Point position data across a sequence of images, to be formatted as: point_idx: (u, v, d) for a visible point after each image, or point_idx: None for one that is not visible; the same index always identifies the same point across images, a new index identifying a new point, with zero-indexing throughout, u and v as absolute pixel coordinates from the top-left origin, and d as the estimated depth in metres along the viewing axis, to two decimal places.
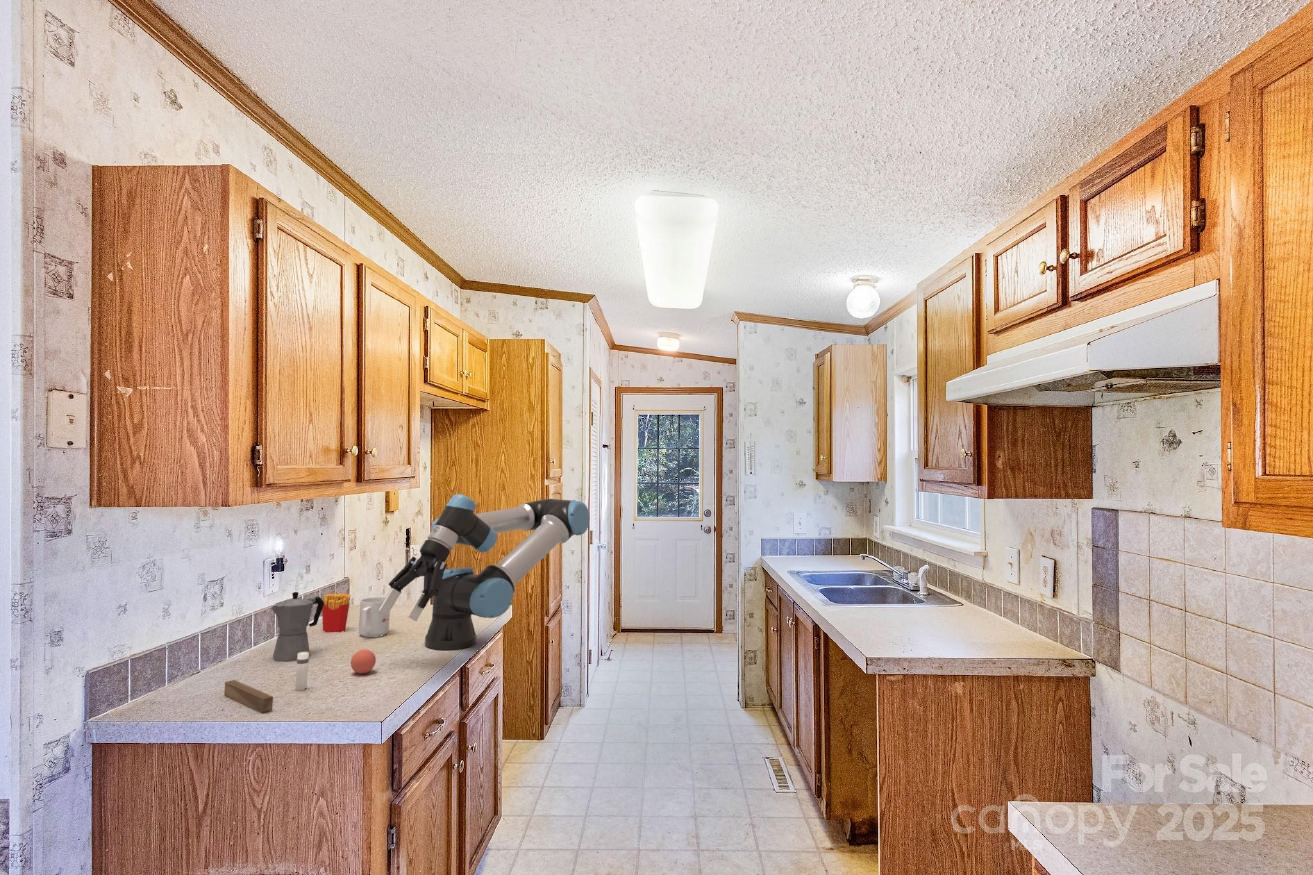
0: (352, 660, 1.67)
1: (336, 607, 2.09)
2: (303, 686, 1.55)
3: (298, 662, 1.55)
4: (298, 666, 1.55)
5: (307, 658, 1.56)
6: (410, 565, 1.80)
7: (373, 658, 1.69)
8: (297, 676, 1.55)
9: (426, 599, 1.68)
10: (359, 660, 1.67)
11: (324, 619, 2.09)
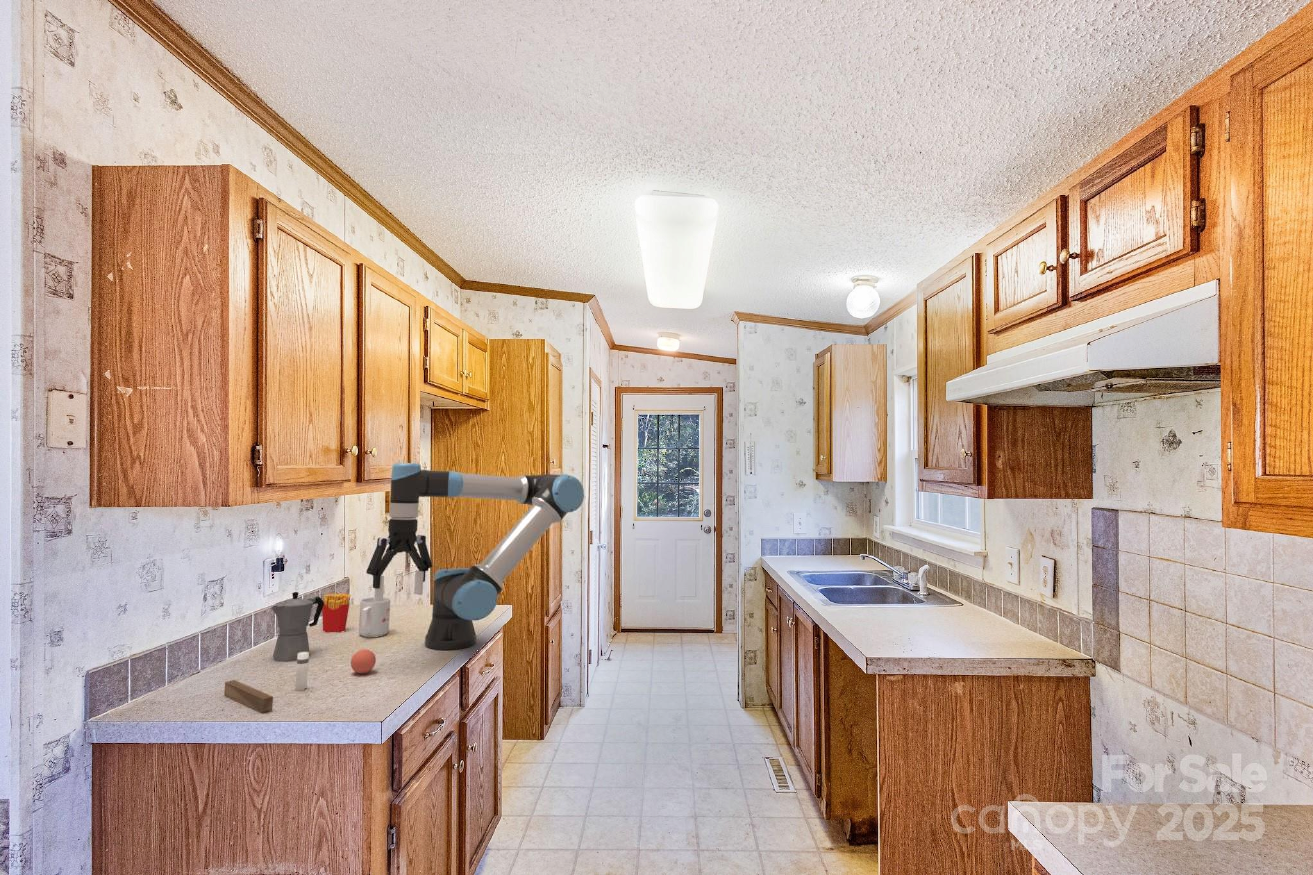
0: (352, 660, 1.67)
1: (336, 607, 2.09)
2: (303, 686, 1.55)
3: (298, 662, 1.55)
4: (298, 666, 1.55)
5: (307, 658, 1.56)
6: (417, 543, 1.84)
7: (373, 658, 1.69)
8: (297, 676, 1.55)
9: (374, 580, 1.72)
10: (359, 660, 1.67)
11: (324, 619, 2.09)
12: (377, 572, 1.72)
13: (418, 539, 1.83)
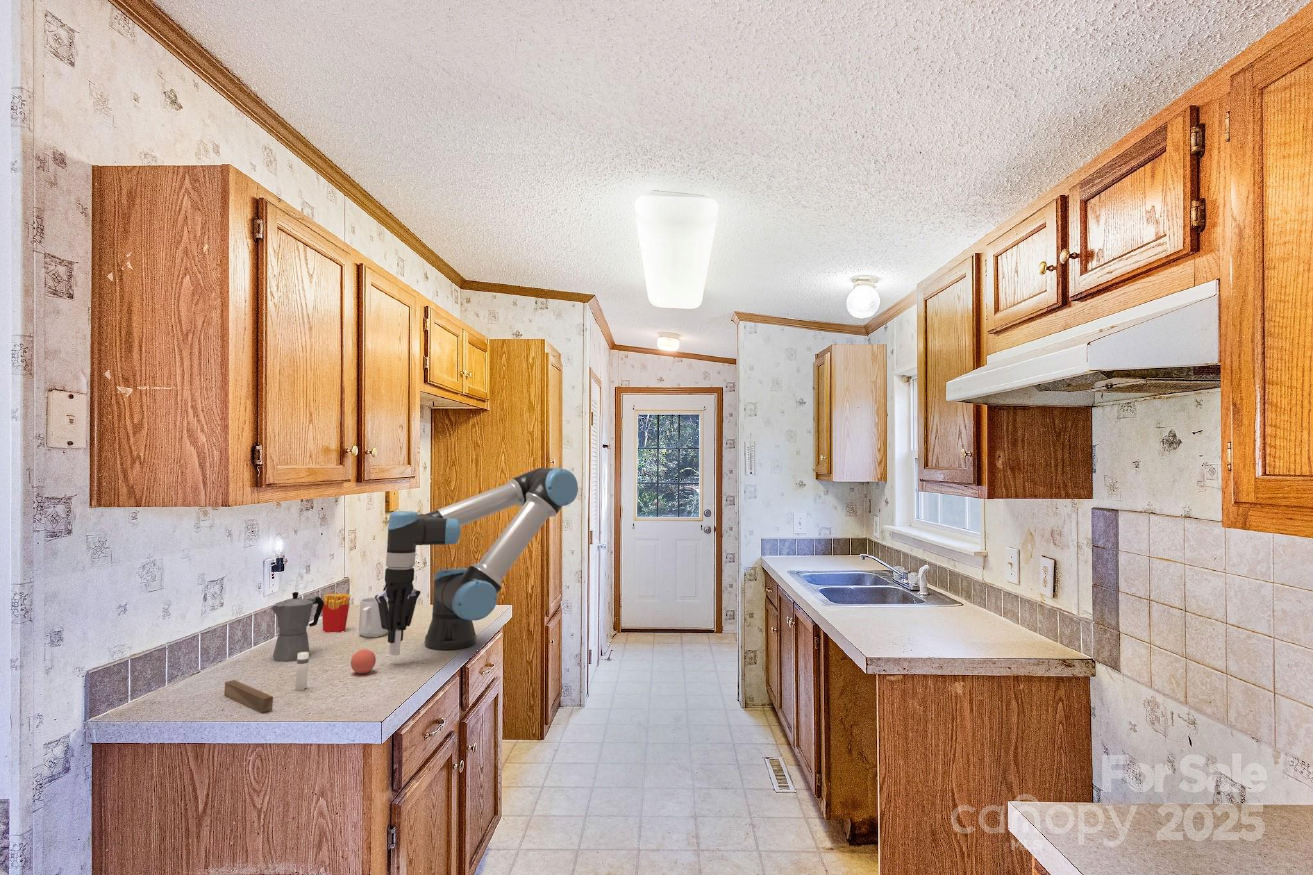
0: (352, 660, 1.67)
1: (336, 607, 2.09)
2: (303, 686, 1.55)
3: (298, 662, 1.55)
4: (298, 666, 1.55)
5: (307, 658, 1.56)
6: (409, 597, 1.82)
7: (373, 658, 1.69)
8: (297, 676, 1.55)
9: (389, 634, 1.76)
10: (359, 660, 1.67)
11: (324, 619, 2.09)
12: (391, 628, 1.75)
13: (413, 591, 1.82)
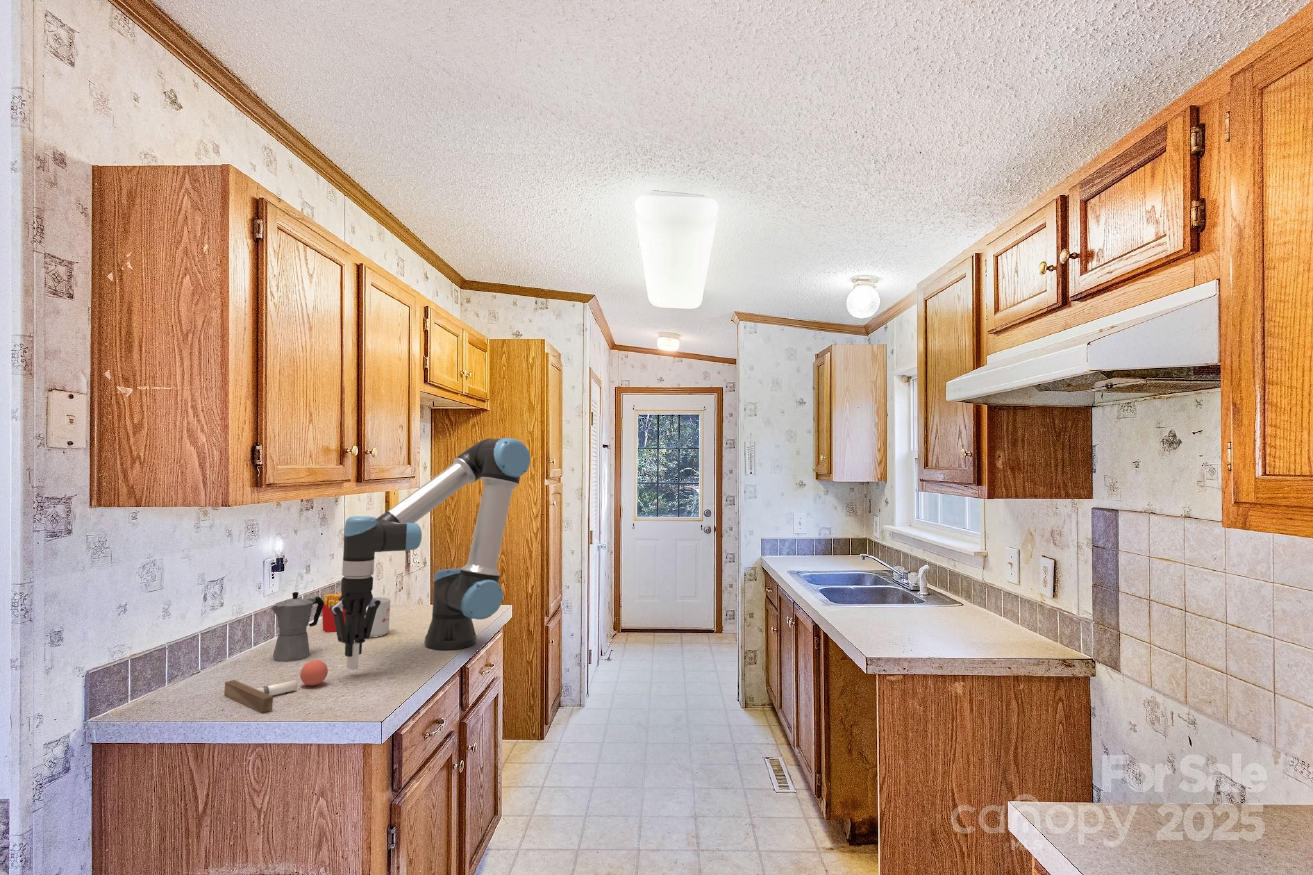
0: None
1: None
2: (293, 687, 1.54)
3: None
4: None
5: (264, 690, 1.49)
6: (368, 607, 1.72)
7: (319, 680, 1.57)
8: (281, 693, 1.52)
9: (346, 647, 1.66)
10: (326, 667, 1.60)
11: (324, 619, 2.09)
12: (348, 641, 1.65)
13: (372, 601, 1.71)
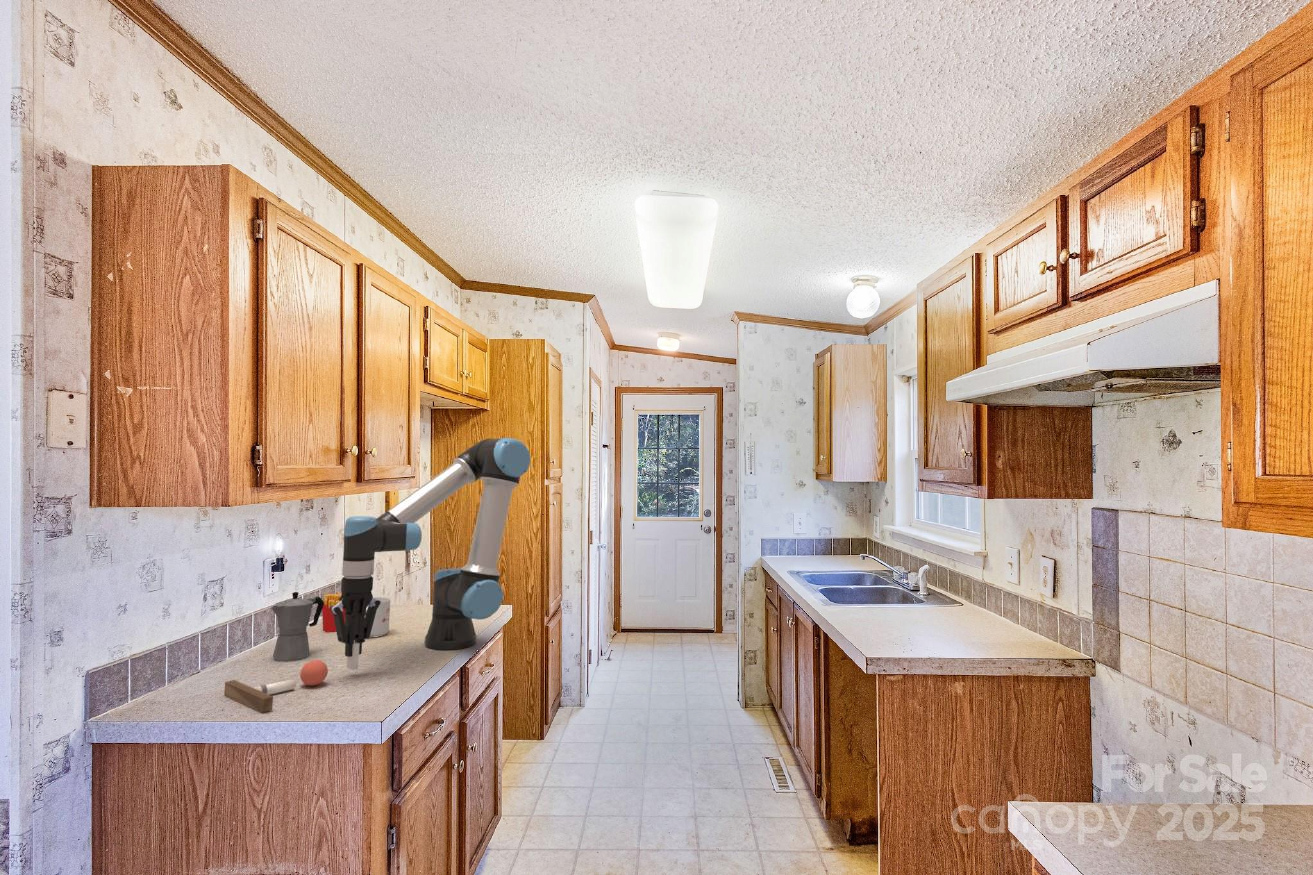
0: None
1: None
2: (291, 681, 1.54)
3: None
4: (269, 692, 1.50)
5: (260, 686, 1.50)
6: (368, 607, 1.72)
7: (319, 680, 1.57)
8: (280, 690, 1.52)
9: (346, 647, 1.66)
10: (326, 667, 1.60)
11: (324, 619, 2.09)
12: (348, 641, 1.65)
13: (372, 601, 1.71)
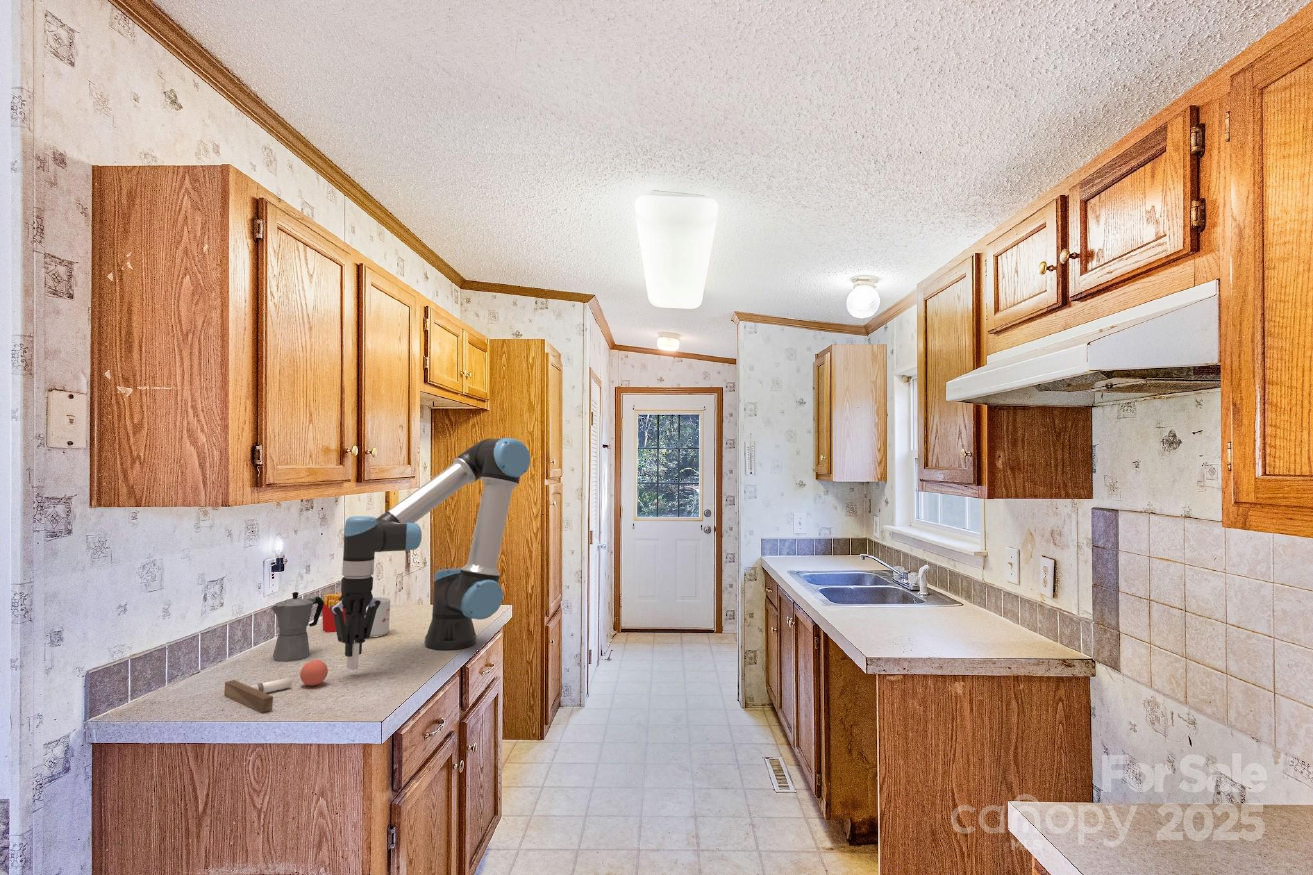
0: None
1: None
2: None
3: (261, 684, 1.51)
4: (265, 683, 1.52)
5: None
6: (368, 607, 1.72)
7: (319, 680, 1.57)
8: (276, 681, 1.54)
9: (346, 647, 1.66)
10: (326, 667, 1.60)
11: (324, 619, 2.09)
12: (348, 641, 1.65)
13: (372, 601, 1.71)
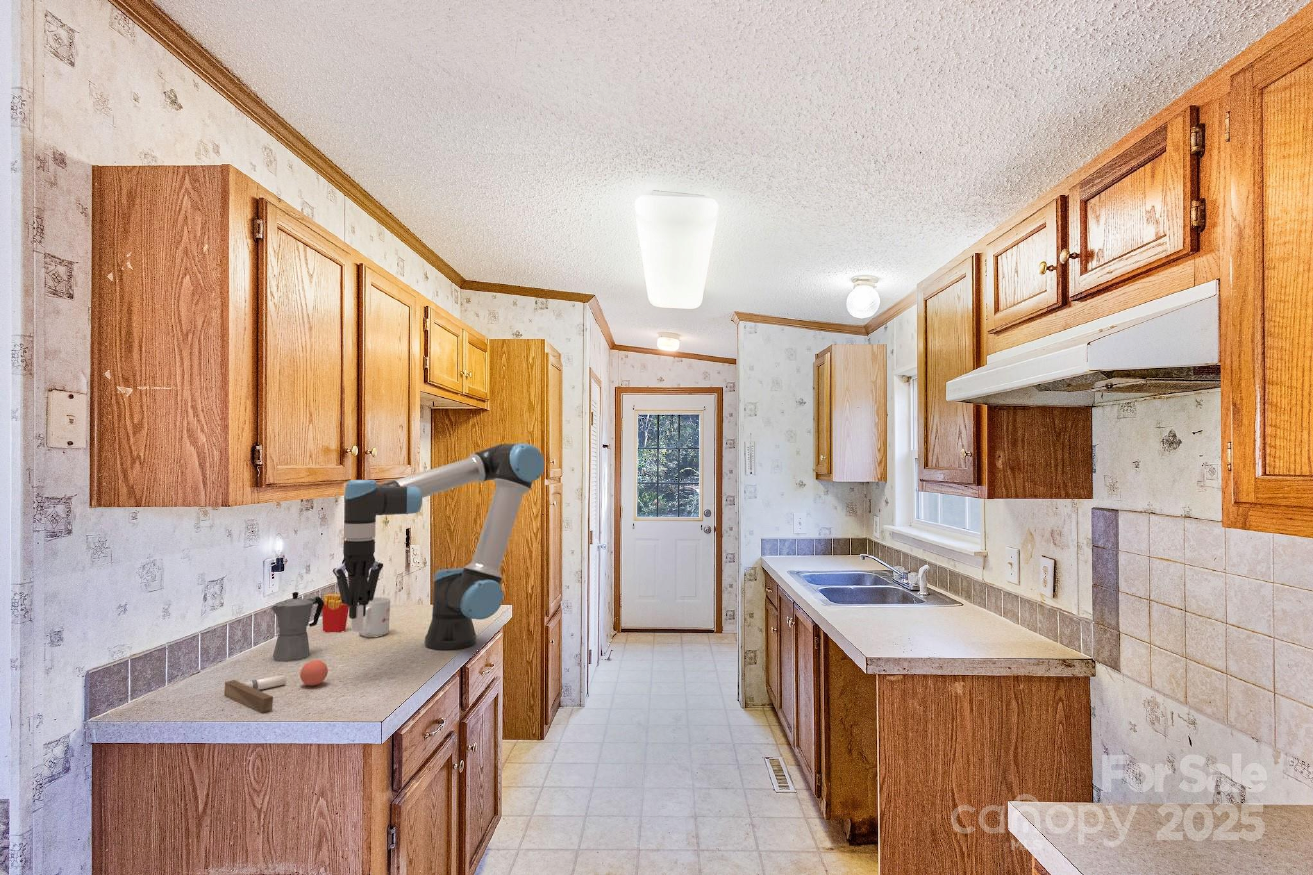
0: None
1: (336, 607, 2.09)
2: None
3: None
4: None
5: None
6: (371, 570, 1.72)
7: (319, 680, 1.57)
8: None
9: (350, 609, 1.66)
10: (326, 667, 1.60)
11: (324, 619, 2.09)
12: (352, 603, 1.66)
13: (375, 564, 1.72)
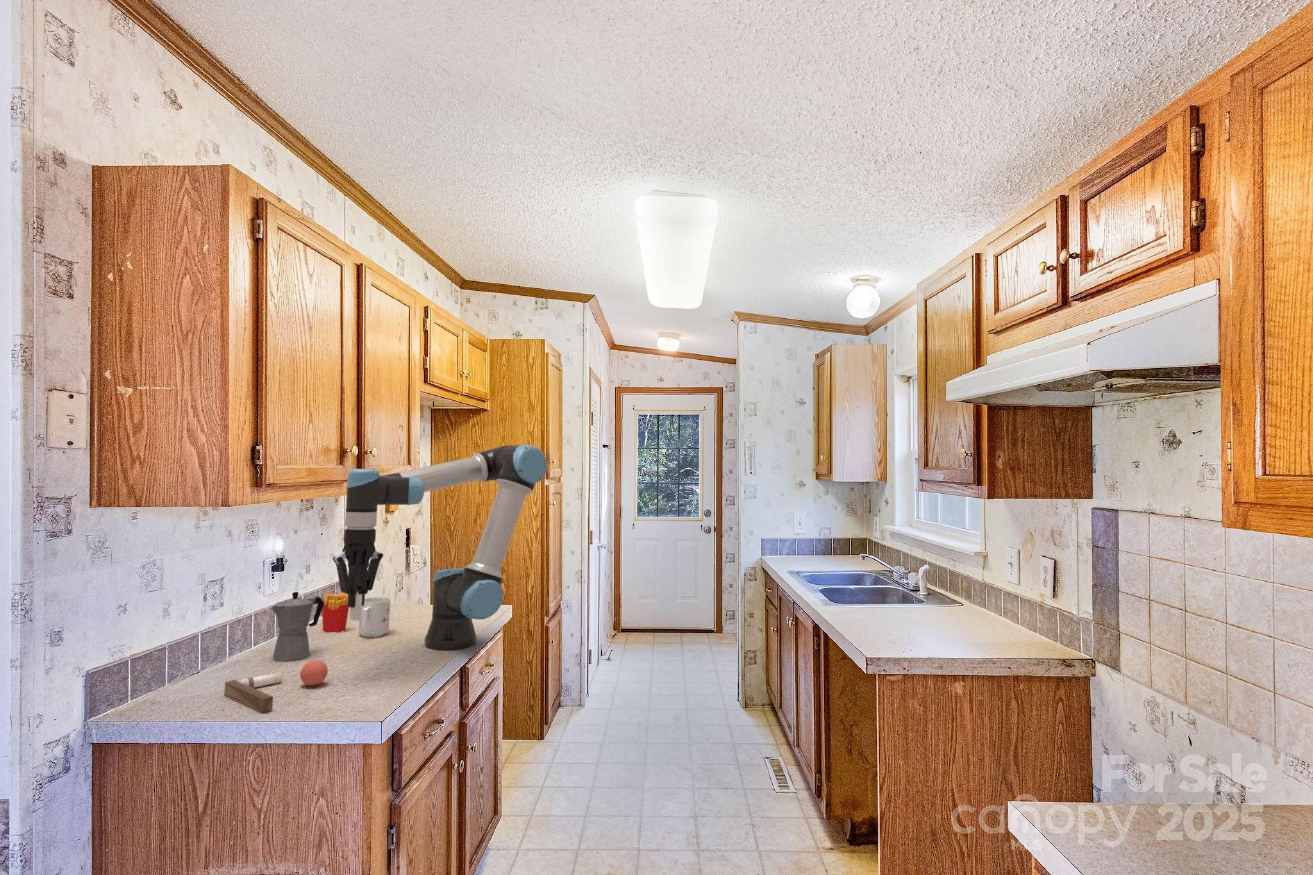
0: None
1: (336, 607, 2.09)
2: (278, 675, 1.59)
3: (252, 686, 1.54)
4: (256, 685, 1.55)
5: (248, 679, 1.54)
6: (371, 560, 1.72)
7: (319, 680, 1.57)
8: (267, 683, 1.57)
9: (349, 598, 1.66)
10: (326, 667, 1.60)
11: (324, 619, 2.09)
12: (351, 592, 1.66)
13: (375, 553, 1.72)
